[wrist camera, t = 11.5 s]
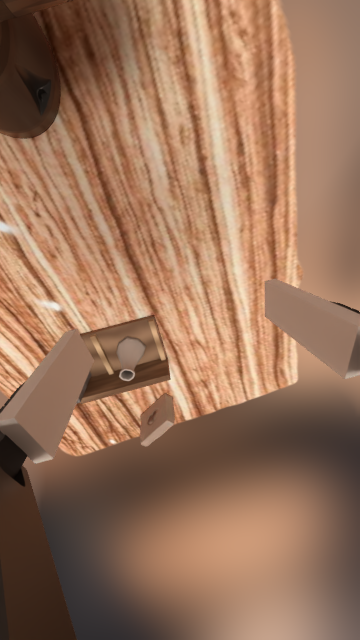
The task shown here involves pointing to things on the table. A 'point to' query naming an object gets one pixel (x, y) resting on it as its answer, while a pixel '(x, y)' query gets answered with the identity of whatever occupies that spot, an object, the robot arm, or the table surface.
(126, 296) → the table surface
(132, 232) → the table surface
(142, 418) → the fossil
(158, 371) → the brown open box
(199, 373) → the table surface
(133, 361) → the flask
